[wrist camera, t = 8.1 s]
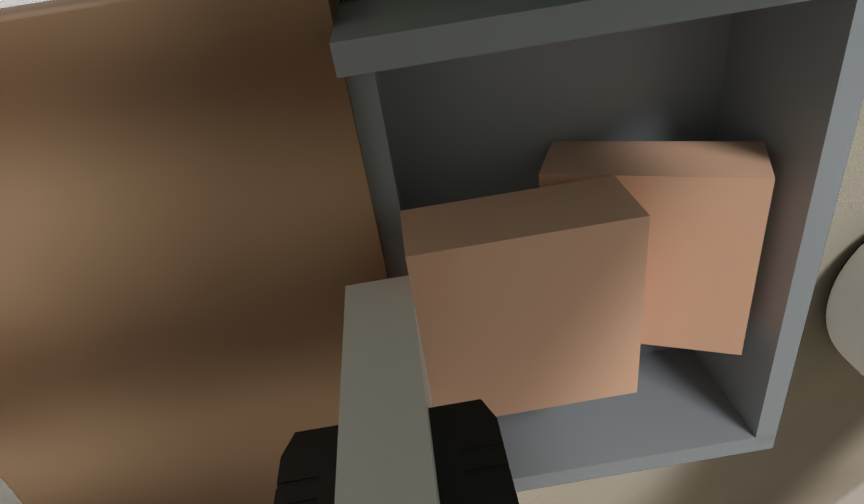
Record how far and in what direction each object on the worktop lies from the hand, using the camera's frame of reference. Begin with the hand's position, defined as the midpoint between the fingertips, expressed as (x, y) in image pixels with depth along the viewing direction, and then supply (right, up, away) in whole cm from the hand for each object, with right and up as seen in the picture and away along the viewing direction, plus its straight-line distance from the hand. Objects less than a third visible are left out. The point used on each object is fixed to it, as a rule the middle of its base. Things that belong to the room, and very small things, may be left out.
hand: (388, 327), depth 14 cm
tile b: (+6, +1, +1) cm, 6 cm away
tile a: (+3, +1, +1) cm, 3 cm away
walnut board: (-6, +1, +4) cm, 7 cm away
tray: (+5, +3, +4) cm, 7 cm away
